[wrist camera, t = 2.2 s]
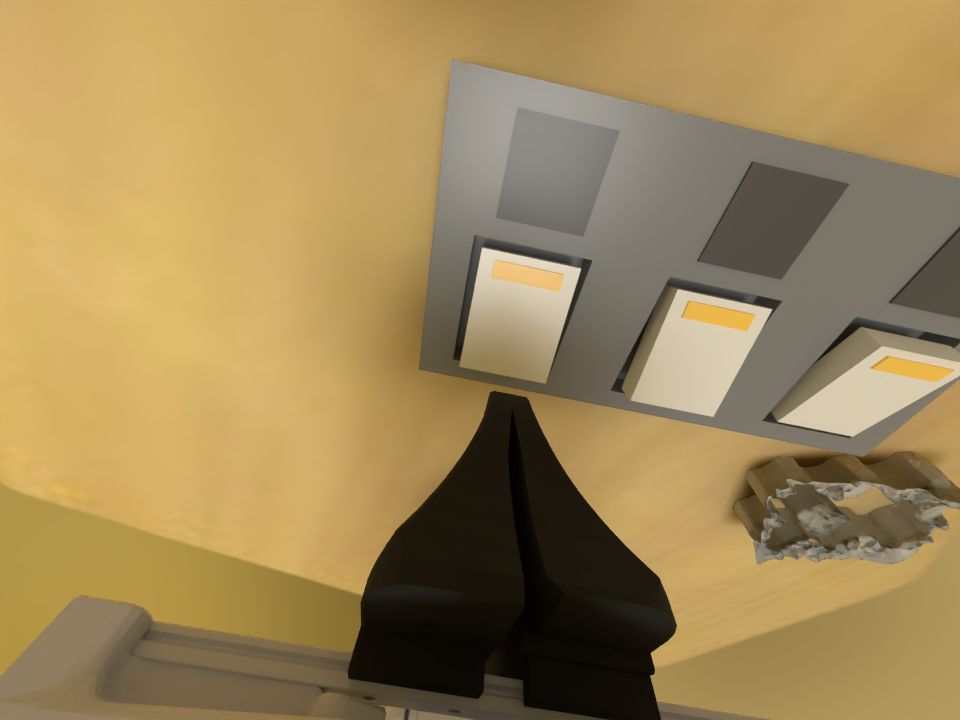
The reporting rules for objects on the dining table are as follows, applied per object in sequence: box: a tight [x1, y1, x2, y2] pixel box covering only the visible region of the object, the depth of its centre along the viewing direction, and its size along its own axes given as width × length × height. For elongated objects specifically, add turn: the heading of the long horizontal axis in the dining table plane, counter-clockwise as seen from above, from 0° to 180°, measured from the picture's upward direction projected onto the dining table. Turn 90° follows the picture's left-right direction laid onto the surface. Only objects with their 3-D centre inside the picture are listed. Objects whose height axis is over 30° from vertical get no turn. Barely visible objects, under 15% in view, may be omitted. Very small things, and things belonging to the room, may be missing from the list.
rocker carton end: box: [771, 327, 960, 437], centre depth 15 cm, size 5×4×1 cm
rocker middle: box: [621, 284, 772, 417], centre depth 15 cm, size 5×4×1 cm
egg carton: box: [734, 452, 960, 564], centre depth 21 cm, size 11×8×4 cm
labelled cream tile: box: [459, 245, 581, 384], centre depth 15 cm, size 5×4×1 cm
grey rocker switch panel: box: [419, 59, 960, 457], centre depth 15 cm, size 12×24×2 cm, turn 79°
